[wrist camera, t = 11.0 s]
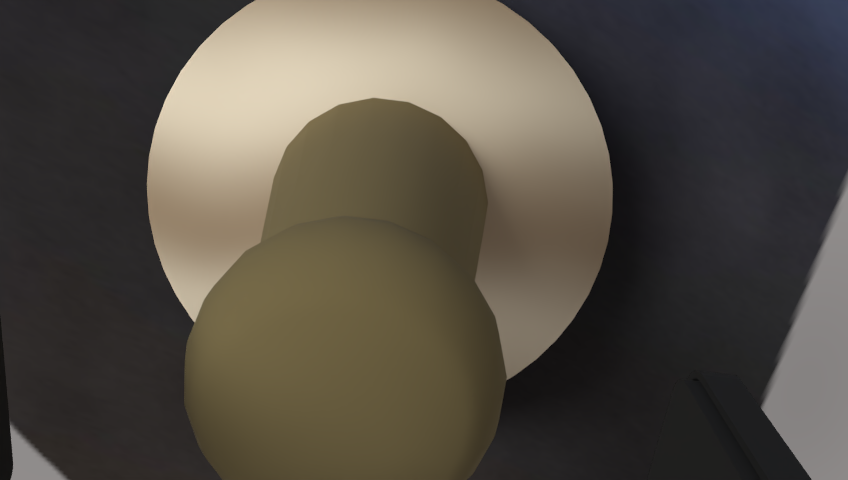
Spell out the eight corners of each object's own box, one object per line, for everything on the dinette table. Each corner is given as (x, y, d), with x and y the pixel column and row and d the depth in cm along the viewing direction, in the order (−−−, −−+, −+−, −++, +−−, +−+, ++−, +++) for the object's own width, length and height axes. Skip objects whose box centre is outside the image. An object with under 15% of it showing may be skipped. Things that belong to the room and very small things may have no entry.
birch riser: (194, -61, 23) (147, -66, 19) (623, -3, 23) (661, 4, 19) (184, 329, 27) (146, 389, 23) (545, 371, 28) (564, 435, 24)
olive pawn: (298, 70, 20) (161, 184, 10) (516, 132, 21) (608, 304, 10) (251, 274, 22) (96, 550, 12) (452, 326, 23) (474, 634, 12)
